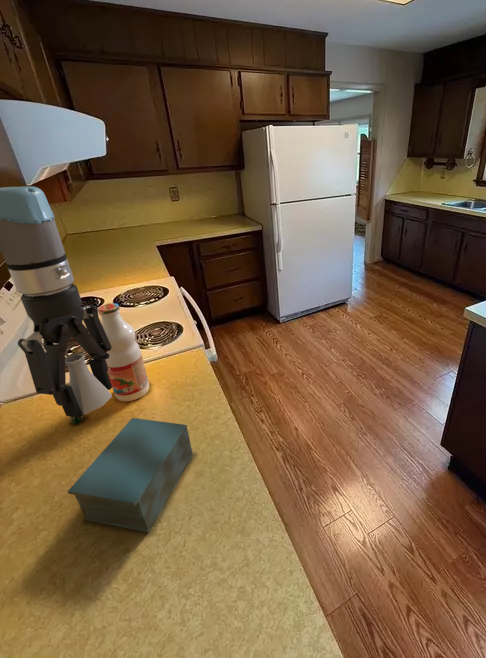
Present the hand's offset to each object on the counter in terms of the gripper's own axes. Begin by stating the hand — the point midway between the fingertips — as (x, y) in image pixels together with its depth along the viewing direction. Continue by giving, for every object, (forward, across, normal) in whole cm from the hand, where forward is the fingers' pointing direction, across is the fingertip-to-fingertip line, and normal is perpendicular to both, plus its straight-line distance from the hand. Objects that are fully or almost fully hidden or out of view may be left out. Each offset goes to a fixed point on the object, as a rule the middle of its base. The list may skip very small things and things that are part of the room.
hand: (90, 400), depth 62 cm
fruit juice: (+22, +26, +16) cm, 38 cm away
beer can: (+21, +14, +23) cm, 34 cm away
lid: (+13, -1, -6) cm, 14 cm away
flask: (0, 0, 0) cm, 0 cm away
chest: (+22, 0, -6) cm, 22 cm away
